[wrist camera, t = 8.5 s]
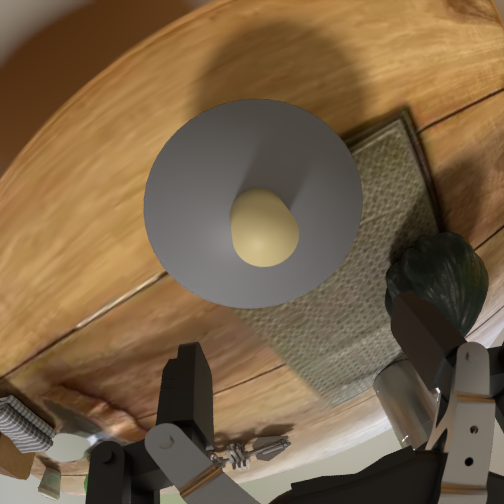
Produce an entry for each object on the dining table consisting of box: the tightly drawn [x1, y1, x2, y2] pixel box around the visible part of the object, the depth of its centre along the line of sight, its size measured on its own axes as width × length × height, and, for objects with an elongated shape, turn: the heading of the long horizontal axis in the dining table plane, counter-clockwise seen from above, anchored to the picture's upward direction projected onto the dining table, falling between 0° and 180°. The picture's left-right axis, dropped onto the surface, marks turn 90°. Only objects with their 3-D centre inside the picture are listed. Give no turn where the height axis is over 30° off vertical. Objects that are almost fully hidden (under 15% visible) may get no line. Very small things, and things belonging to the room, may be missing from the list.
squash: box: [385, 232, 489, 337], centre depth 33 cm, size 14×15×15 cm
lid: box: [144, 99, 363, 308], centre depth 22 cm, size 18×18×6 cm
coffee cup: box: [38, 467, 61, 501], centre depth 58 cm, size 8×8×12 cm
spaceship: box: [206, 436, 291, 471], centre depth 51 cm, size 8×35×8 cm
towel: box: [0, 395, 56, 453], centre depth 44 cm, size 15×18×8 cm
